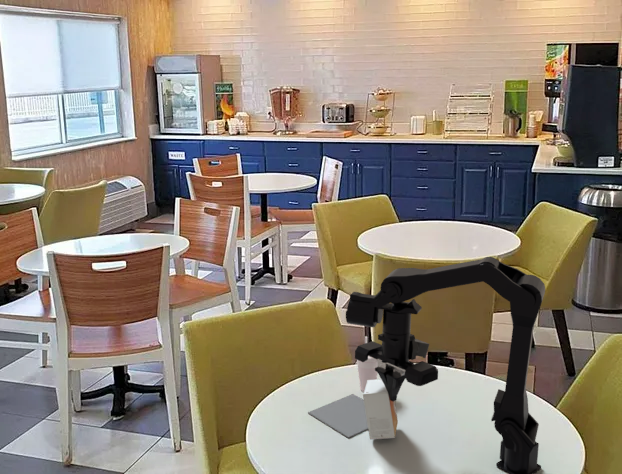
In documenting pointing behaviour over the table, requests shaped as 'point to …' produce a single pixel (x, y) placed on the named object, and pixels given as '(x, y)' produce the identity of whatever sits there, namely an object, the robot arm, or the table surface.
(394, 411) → the small box
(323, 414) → the mat
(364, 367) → the smoothie
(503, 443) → the robot arm
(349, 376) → the table surface
